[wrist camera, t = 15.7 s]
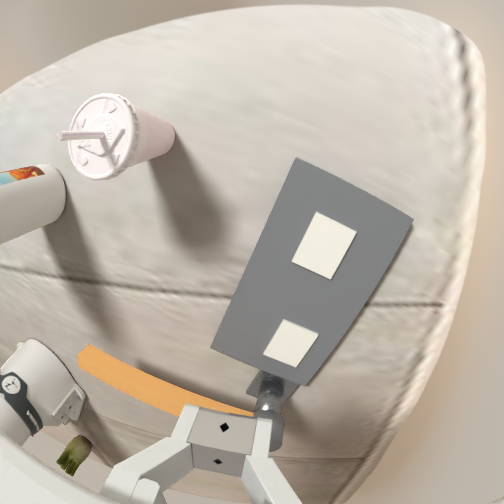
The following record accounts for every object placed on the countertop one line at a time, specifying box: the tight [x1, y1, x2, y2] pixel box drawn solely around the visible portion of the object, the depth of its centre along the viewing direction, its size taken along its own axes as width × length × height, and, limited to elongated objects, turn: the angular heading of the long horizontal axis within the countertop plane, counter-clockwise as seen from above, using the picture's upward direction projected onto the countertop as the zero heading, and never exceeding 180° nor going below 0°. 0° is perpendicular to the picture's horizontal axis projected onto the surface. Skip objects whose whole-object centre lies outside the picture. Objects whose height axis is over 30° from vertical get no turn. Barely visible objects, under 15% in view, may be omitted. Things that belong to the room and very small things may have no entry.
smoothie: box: [56, 93, 175, 180], centre depth 19 cm, size 6×6×14 cm
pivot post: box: [246, 369, 299, 415], centre depth 31 cm, size 5×5×6 cm
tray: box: [210, 157, 414, 386], centre depth 28 cm, size 22×12×2 cm, turn 157°
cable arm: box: [77, 344, 285, 452], centre depth 27 cm, size 24×4×3 cm, turn 73°
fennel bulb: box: [57, 435, 92, 476], centre depth 47 cm, size 6×5×12 cm
